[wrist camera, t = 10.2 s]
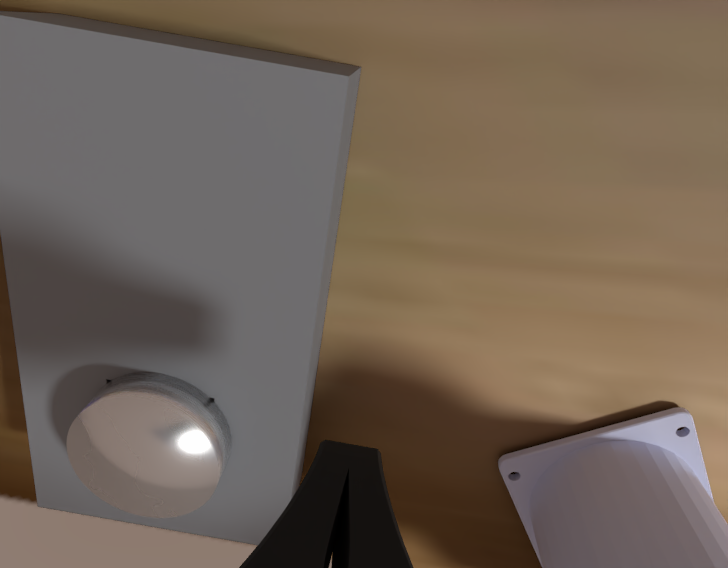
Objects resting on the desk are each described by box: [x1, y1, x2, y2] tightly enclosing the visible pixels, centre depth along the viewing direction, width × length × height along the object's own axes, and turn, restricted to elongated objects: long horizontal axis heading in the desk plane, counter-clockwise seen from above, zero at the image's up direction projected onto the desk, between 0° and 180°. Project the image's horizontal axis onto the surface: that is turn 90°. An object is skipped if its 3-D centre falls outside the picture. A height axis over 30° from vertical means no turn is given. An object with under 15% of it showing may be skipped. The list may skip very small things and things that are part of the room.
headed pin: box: [66, 372, 232, 518], centre depth 21 cm, size 5×5×5 cm
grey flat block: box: [0, 11, 361, 545], centre depth 20 cm, size 18×10×4 cm, turn 171°
